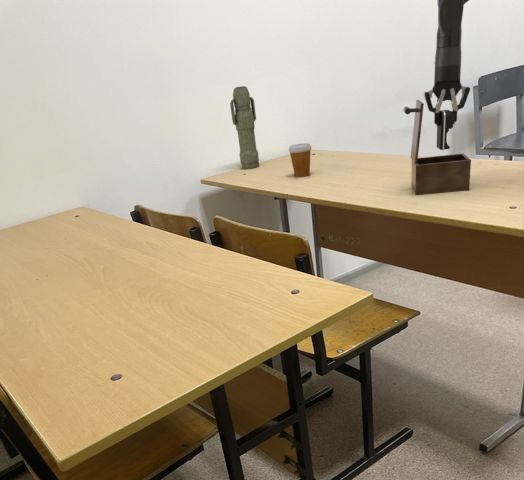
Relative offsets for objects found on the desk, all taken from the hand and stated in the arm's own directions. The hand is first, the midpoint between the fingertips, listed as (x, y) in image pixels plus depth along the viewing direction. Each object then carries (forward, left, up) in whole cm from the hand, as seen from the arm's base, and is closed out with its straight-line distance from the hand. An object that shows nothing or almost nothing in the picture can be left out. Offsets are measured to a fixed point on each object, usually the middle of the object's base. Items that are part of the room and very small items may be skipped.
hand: (445, 124), depth 168 cm
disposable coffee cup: (+50, -44, -20) cm, 70 cm away
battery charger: (0, 0, -7) cm, 7 cm away
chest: (+1, 0, -20) cm, 20 cm away
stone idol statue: (+77, -75, -20) cm, 110 cm away
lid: (+8, 0, -1) cm, 8 cm away
